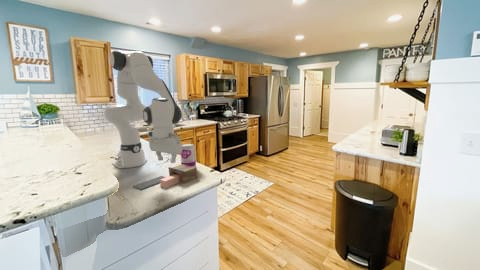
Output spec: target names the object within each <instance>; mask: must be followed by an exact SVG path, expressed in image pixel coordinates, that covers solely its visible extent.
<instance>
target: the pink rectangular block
mask: <svg viewBox="0 0 480 270" xmlns="http://www.w3.org/2000/svg"><path fill="white" fill-rule="evenodd" d="M165 177H166V178H163V179H160V183H159V184H160V187H163V188H166V189H167V188H168V187H170V186H171V187H172V186H174V185H175V184H178V183H181V182H180V174H179V173H177V174H174V175H171V176H169V175H168V176H165Z"/></svg>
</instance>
